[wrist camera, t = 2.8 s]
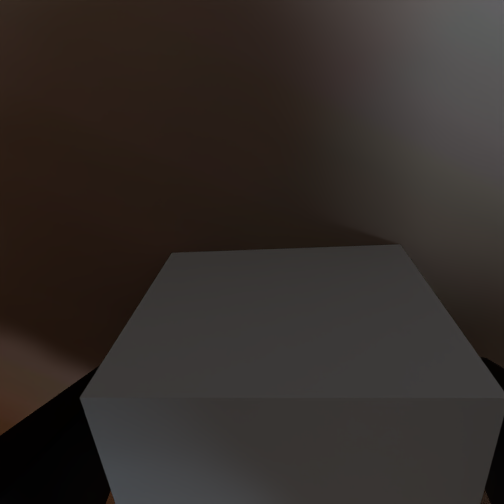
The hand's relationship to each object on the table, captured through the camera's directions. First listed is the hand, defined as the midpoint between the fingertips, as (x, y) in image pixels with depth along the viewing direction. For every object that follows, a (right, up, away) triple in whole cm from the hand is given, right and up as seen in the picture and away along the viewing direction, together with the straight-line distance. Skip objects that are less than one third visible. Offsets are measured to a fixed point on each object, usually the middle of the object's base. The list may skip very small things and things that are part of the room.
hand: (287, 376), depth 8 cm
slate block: (0, 0, +1) cm, 1 cm away
